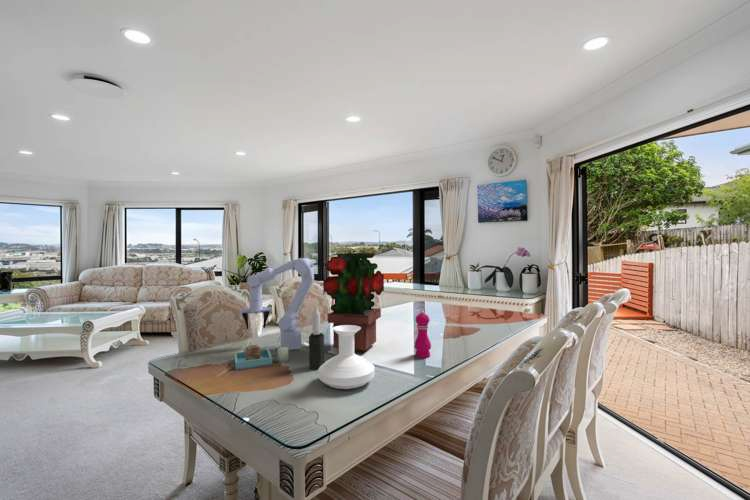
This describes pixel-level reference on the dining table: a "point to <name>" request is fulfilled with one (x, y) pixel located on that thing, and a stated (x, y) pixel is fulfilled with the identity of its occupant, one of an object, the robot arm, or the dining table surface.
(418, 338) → the pepper mill
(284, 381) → the dining table surface
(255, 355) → the walnut block
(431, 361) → the dining table surface
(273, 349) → the slate block
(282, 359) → the sage cylinder
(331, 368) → the white vase
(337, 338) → the potted plant
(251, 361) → the tray
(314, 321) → the candle
